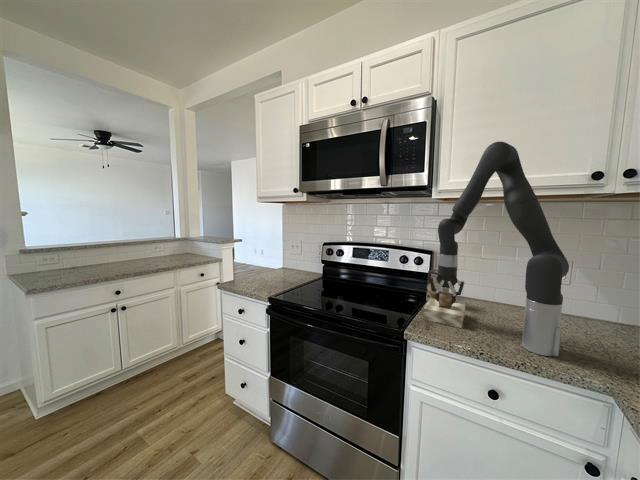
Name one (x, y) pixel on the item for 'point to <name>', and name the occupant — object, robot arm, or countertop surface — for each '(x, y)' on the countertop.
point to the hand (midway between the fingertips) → (445, 302)
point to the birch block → (444, 313)
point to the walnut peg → (445, 299)
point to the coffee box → (431, 293)
